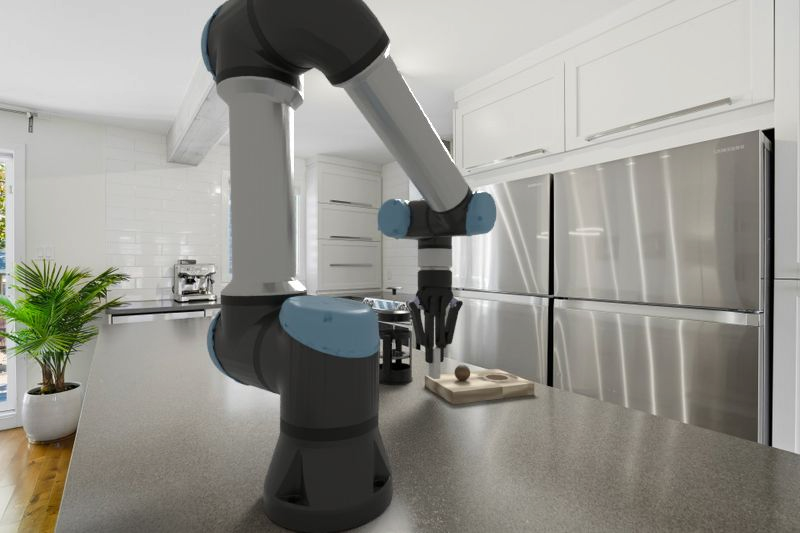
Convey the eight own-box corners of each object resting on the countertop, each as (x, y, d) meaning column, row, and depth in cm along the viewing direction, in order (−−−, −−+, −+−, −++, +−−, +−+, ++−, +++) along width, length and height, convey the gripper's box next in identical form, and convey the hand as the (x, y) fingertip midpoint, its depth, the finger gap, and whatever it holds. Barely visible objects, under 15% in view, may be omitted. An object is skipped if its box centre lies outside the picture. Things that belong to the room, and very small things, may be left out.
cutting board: (534, 394, 90) (534, 383, 91) (453, 404, 83) (453, 391, 83) (497, 378, 104) (497, 368, 104) (424, 386, 97) (424, 375, 97)
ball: (473, 381, 91) (473, 366, 91) (459, 383, 90) (459, 367, 90) (465, 378, 94) (465, 362, 94) (451, 379, 93) (451, 363, 93)
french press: (382, 373, 109) (382, 285, 109) (417, 375, 106) (417, 286, 106) (366, 385, 97) (367, 287, 98) (405, 388, 95) (405, 288, 95)
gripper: (453, 269, 96) (452, 371, 96) (400, 269, 91) (400, 375, 91) (469, 269, 89) (469, 379, 89) (413, 268, 84) (413, 384, 84)
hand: (434, 377), depth 90 cm, fingers closed
